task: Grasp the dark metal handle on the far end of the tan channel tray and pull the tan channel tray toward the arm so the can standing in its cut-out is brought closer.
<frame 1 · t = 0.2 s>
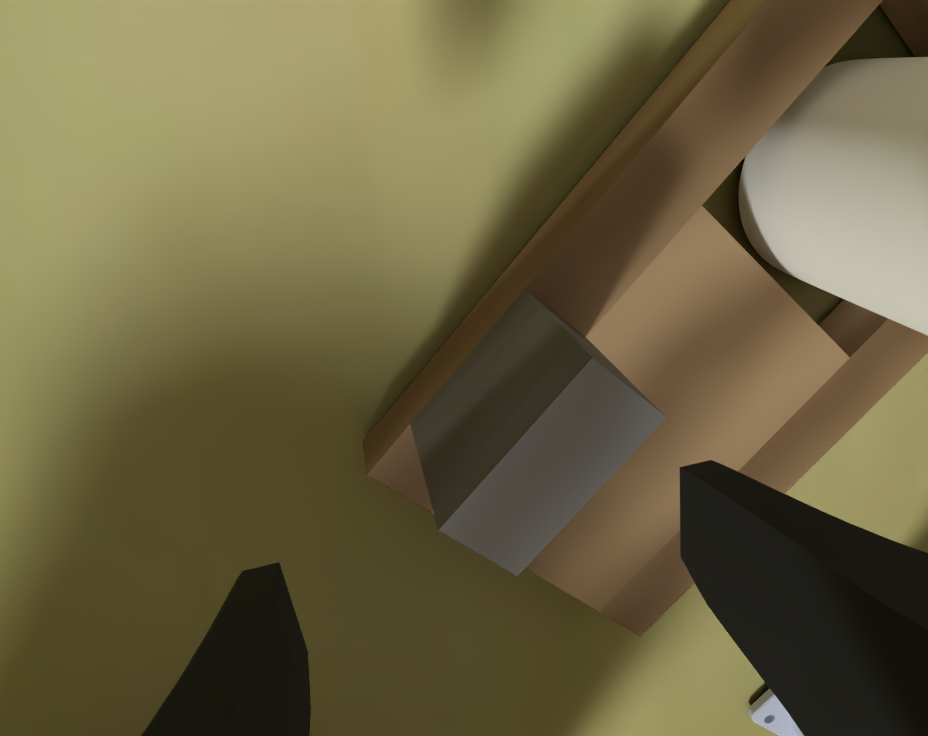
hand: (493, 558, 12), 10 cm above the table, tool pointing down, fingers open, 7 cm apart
tan channel tray: (781, 334, 19), point 4 cm above the table, slide at 0.0 cm
can: (821, 171, 22), resting in tan channel tray
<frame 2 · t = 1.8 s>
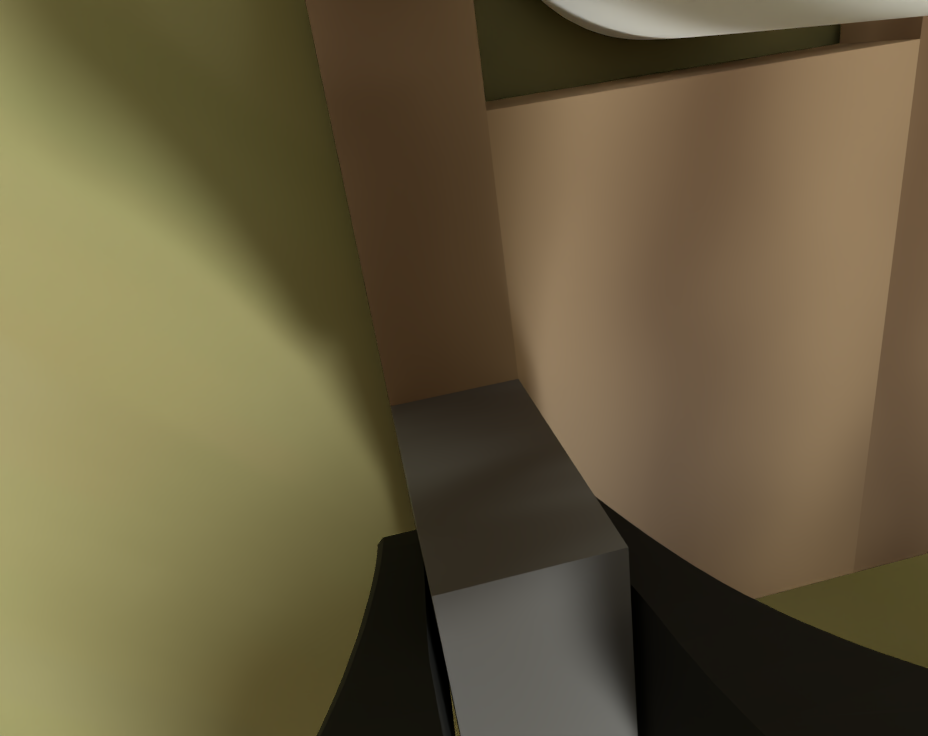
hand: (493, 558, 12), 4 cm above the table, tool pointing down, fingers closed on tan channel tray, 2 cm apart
tan channel tray: (756, 160, 10), point 4 cm above the table, slide at 0.0 cm, touching gripper
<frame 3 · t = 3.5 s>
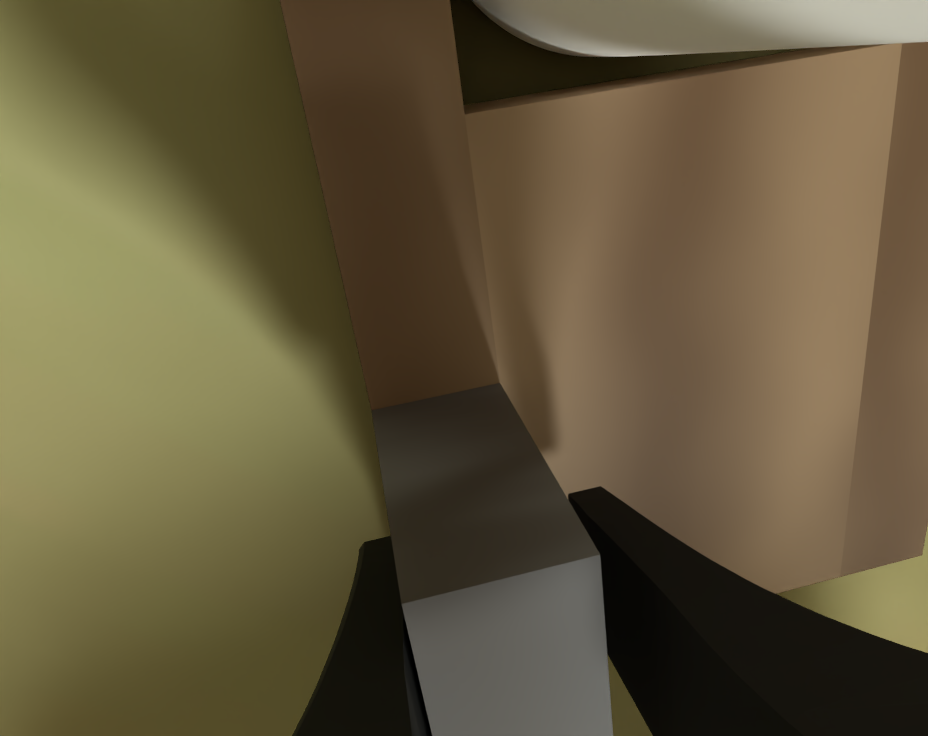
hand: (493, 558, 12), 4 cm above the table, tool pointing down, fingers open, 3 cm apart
tan channel tray: (735, 164, 10), point 4 cm above the table, slide at 4.5 cm, touching can, gripper
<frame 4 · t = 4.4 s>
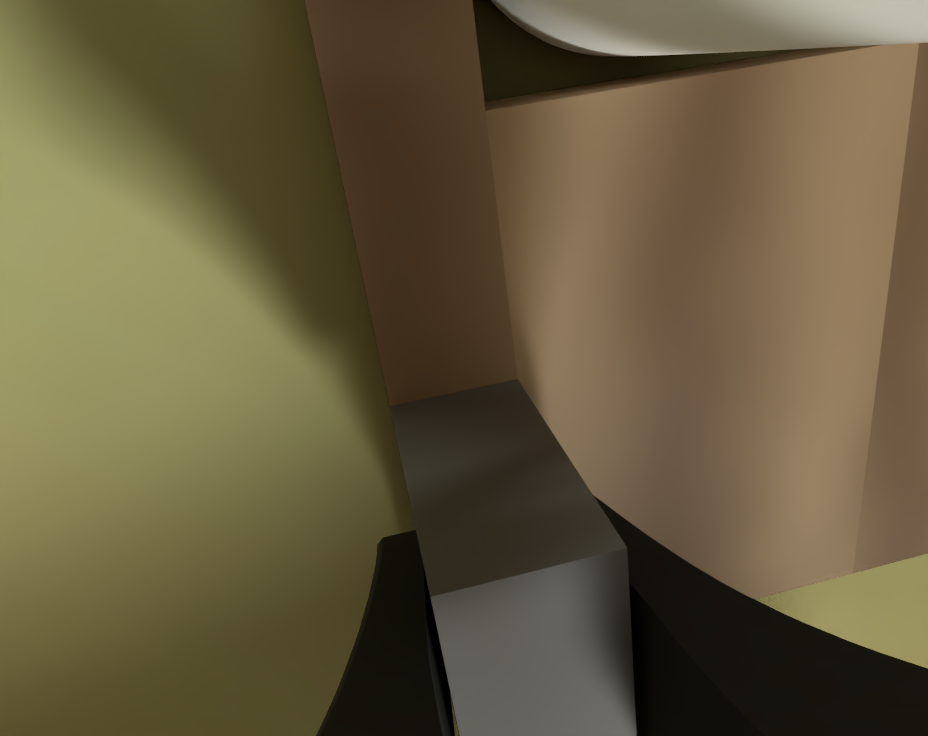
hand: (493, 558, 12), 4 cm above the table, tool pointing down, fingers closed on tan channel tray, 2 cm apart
tan channel tray: (755, 160, 10), point 4 cm above the table, slide at 7.0 cm, touching can, gripper
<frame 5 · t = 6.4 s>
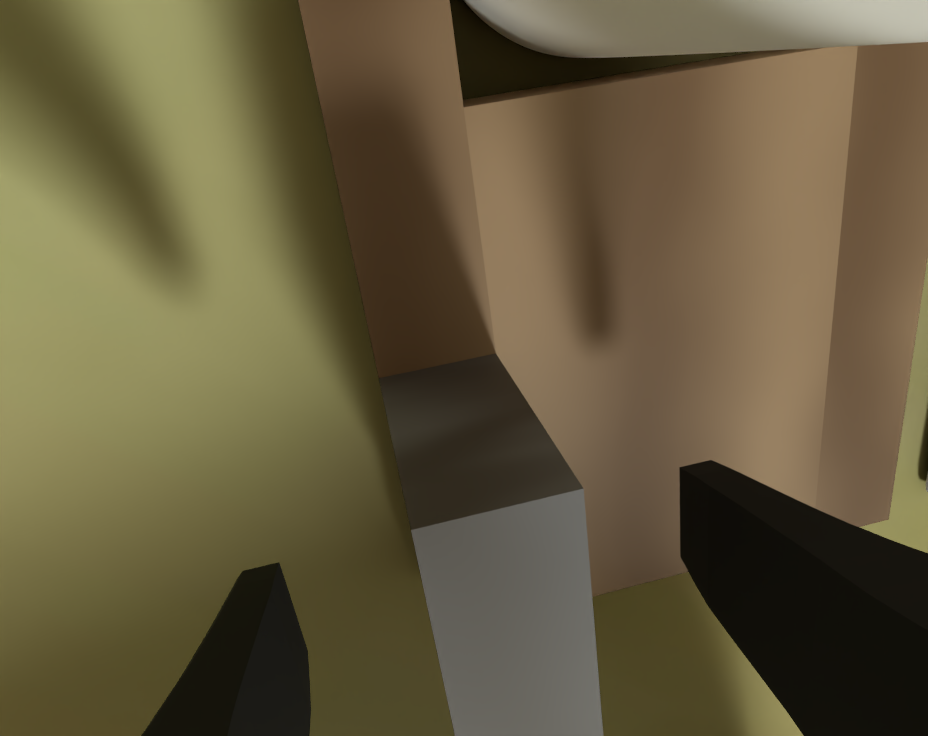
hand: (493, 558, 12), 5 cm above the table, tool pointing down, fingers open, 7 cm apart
tan channel tray: (705, 151, 12), point 4 cm above the table, slide at 7.0 cm
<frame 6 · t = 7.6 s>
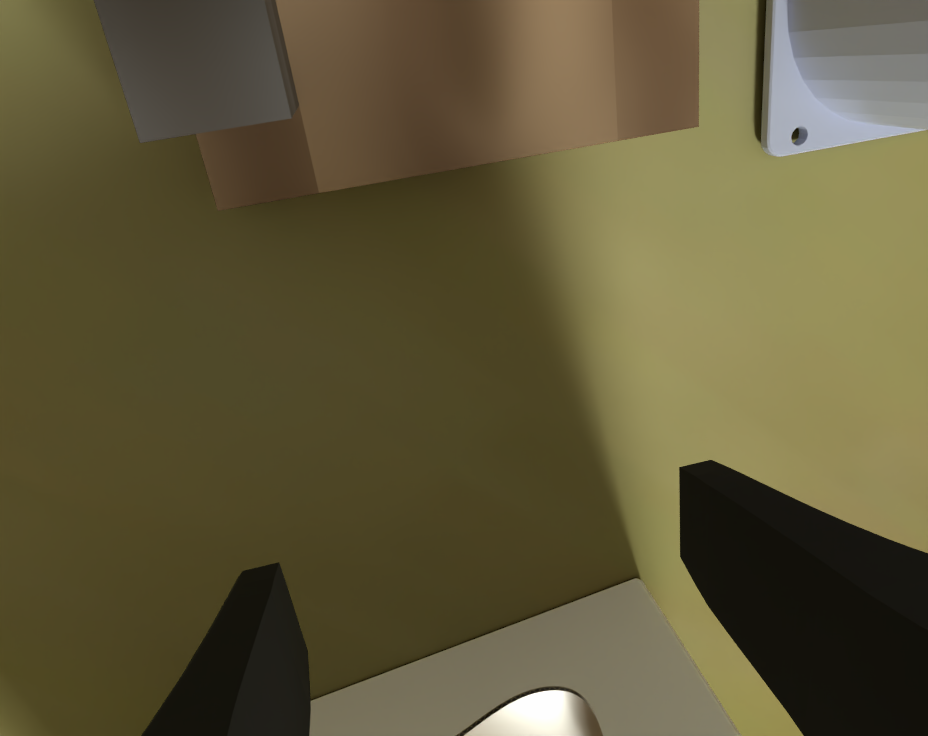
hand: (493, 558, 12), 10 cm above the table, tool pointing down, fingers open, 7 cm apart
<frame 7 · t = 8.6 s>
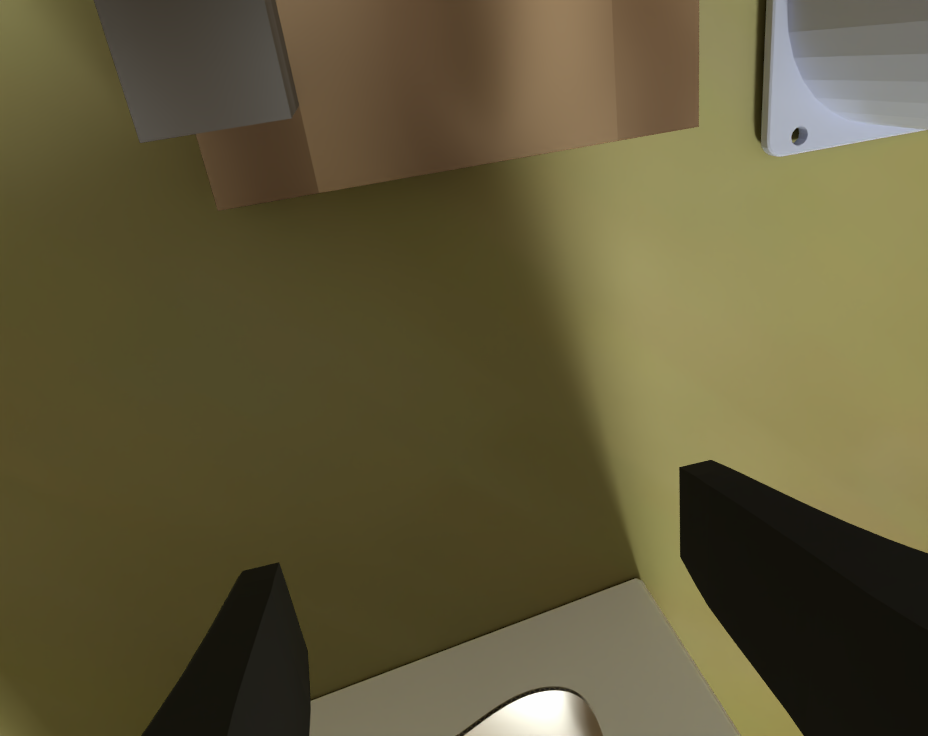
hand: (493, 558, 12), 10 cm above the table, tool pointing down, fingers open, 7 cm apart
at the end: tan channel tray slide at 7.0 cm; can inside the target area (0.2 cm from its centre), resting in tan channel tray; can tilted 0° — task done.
